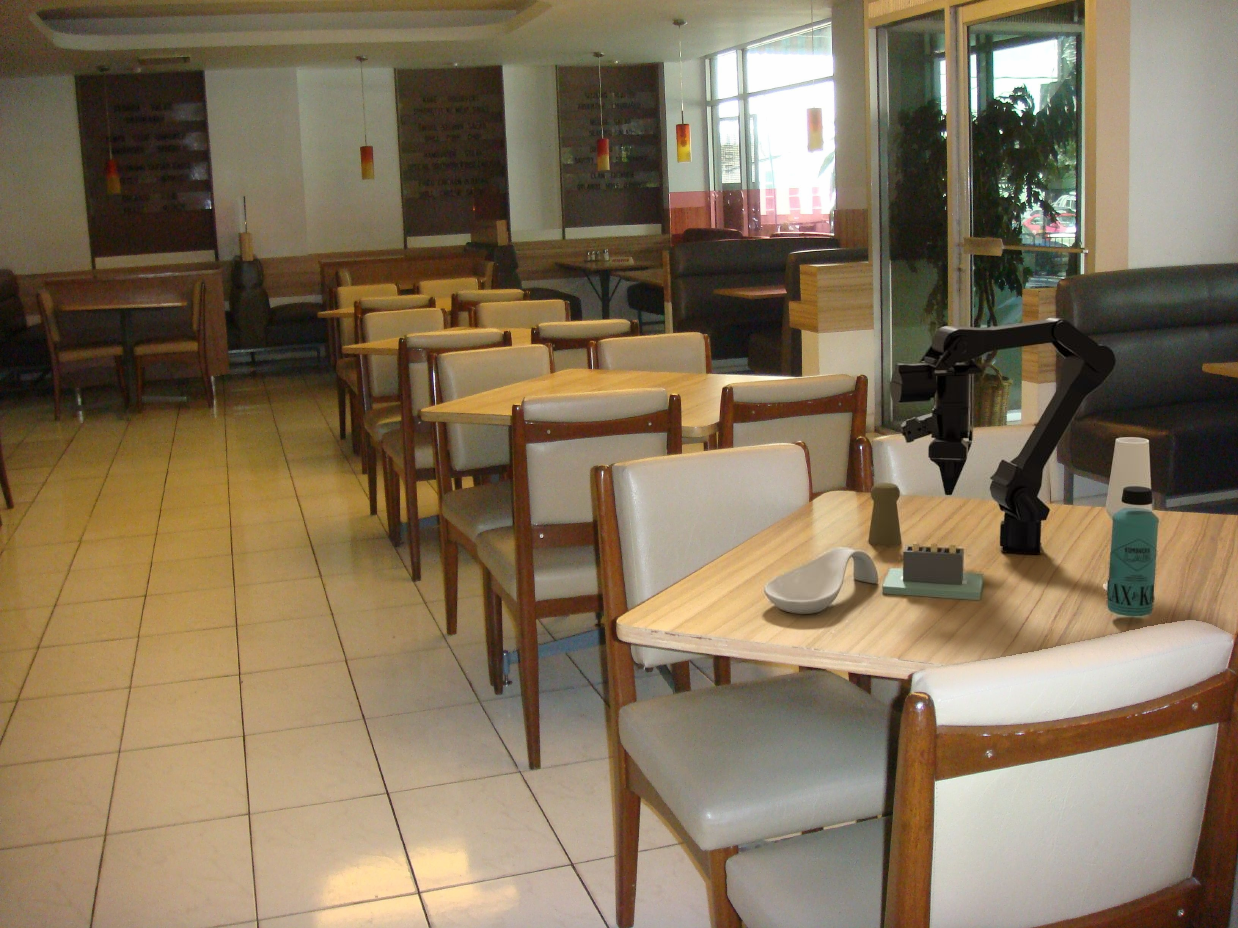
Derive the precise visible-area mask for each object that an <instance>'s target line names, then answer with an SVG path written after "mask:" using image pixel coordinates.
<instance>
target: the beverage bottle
mask: <svg viewBox="0 0 1238 928" xmlns="http://www.w3.org/2000/svg"><path fill="white" fill-rule="evenodd" d="M1152 490H1153V489H1152V488H1151V489H1150V488H1147V487H1141V486H1129V487H1125V488H1123V494H1122V500H1121V501H1122V502H1123V503H1126V504H1131V505H1149V504H1152V505H1153V491H1152ZM1111 520H1112V528H1111V529H1112V530H1111V540H1110V541H1111V544H1110V553H1109V555H1108V558H1109V563H1108V568H1107V570H1108V573H1107V574H1108V575H1107V576H1108V577H1107V578H1108V579H1107V582H1106V583H1107V591H1106V596H1107V597H1106V602H1105V603H1106V605H1107V609H1108V611H1109V612H1111V613H1114V614H1115V615H1120V616H1125V617H1146V616H1148V615H1150V614H1152V611H1153V609H1154V606H1155V587H1156V585H1157V584H1156V583H1155V581H1156V577H1157V573H1156V571H1157V570H1158V569H1157V556H1158V552H1159V551H1158V549H1157V548H1158V535H1159V534H1158V533H1159V532H1158V530H1159V524H1160V519H1159V517H1158V516H1157V515H1156V514H1155V513H1154V512H1153V510H1152V511H1150V510H1148V509H1143V508H1123V509H1121V510H1119V511H1118V512H1117V513H1115V514H1114V515H1113V517H1112V519H1111Z"/></svg>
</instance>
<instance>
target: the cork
mask: <svg viewBox="0 0 1238 928" xmlns="http://www.w3.org/2000/svg"><path fill="white" fill-rule="evenodd" d="M900 495H901V491H900V488H899V486H898V485H897V484H895V483H892V482H878V483H876V484H873V486H872V487H871V489H870V497H871V500H872V501H873V504H872V511H871V512H872V513H871V519H870V525H869V533H868V538H867V539H868V540H867V543H869V544H870V545H873V546H876V547H877V546H878V547H895V546H900V545H901V544H902V542H903V541H902V534H901V533H902V532H901V526H900V518H899V509H898V503H897V502H898V500H899V498H900Z"/></svg>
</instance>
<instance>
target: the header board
mask: <svg viewBox="0 0 1238 928" xmlns="http://www.w3.org/2000/svg"><path fill="white" fill-rule="evenodd" d="M911 546H912V551H919V546H920V543H919V542H913V543H912V545H911ZM930 547H931V552H937V547H938V543H931V544H930ZM948 548H949V553H956V548H957V545H956V544H949V547H948ZM983 584H984V573H975V572H973V573H972V572H963V581H962V585H955V584H940V583H925V582H909V581H903V568H896V567H895V568H892V567H890V569H889V570H888V573H887V575H886V577H885V580H884V582H883V584H882V590H881V593H882V594H883V595H884V594H886V595H888V594H889V595H898V596H900V595H901V596H913V597H914V596H915V597H930V598H942V599H943V598H944V599H945V598H946V599H960V600H970V601H980V600H981V596H982V595H981V594H982V589H983Z"/></svg>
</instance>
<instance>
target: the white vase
mask: <svg viewBox="0 0 1238 928" xmlns="http://www.w3.org/2000/svg"><path fill="white" fill-rule="evenodd" d="M1150 461H1151V459H1150V440H1149V439H1147V438H1143V437H1133V436H1129V437H1127V436H1126V437H1123V436H1122V437H1118V438H1115V442H1114V450H1113V458H1112V464H1111V470H1110V476H1109V477H1110V478H1109V483H1108V484H1109V485H1108V490H1107V495H1106V497H1107V498H1106V503H1105V511H1106V513H1107V515H1108V516H1109V517H1110V519H1111V520H1112V517H1113V515H1114V514H1115V513H1117V512H1118V511H1119V510H1121V509H1123V508H1143V509H1148V510H1150V511H1152V512H1153V503H1152V504H1149V505H1131V504H1126V503H1123V502H1122V501H1121V500H1122V494H1123V488H1125V487H1129V486H1141V487H1147V488H1150V489H1151V490H1152V480H1151V462H1150ZM1107 583H1108V582H1106V584H1105V583H1103V584H1102V585H1103V588H1104V589H1105V590H1104V589H1103V588H1102V589H1103V590H1104V591H1106V590H1107Z"/></svg>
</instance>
